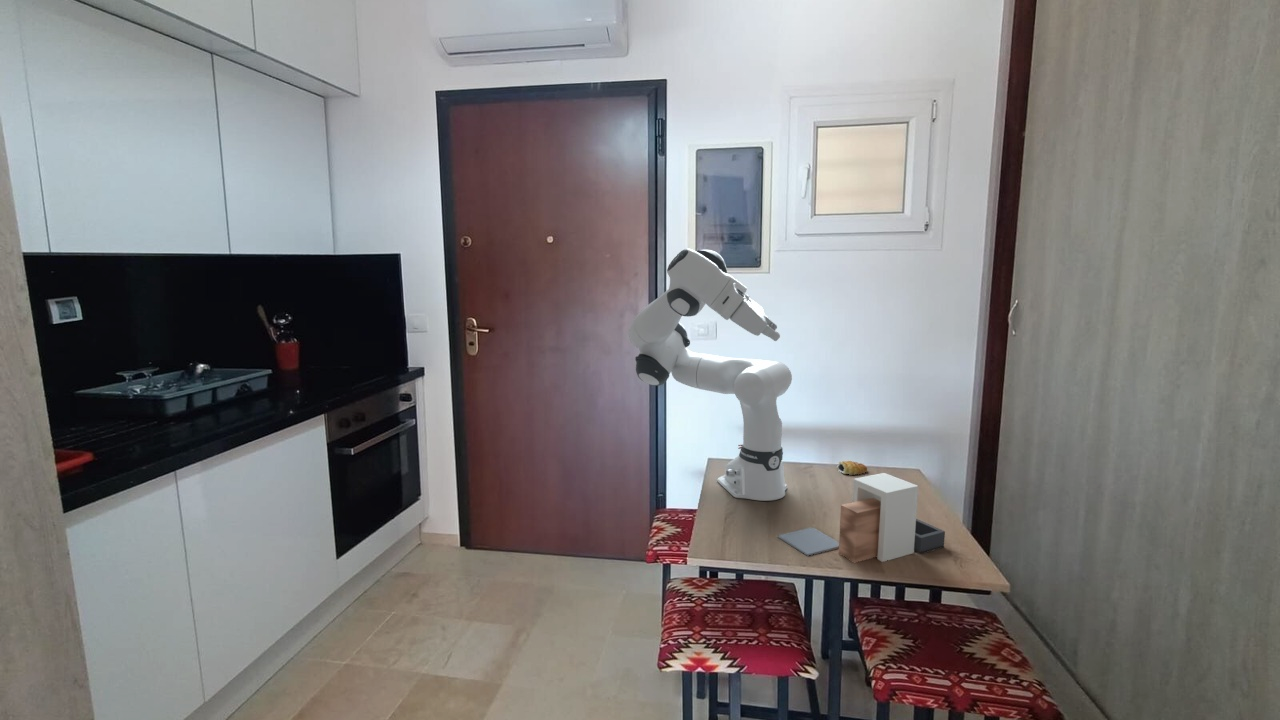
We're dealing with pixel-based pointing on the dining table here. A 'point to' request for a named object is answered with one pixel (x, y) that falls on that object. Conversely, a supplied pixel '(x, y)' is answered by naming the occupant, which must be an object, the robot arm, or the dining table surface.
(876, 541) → the block
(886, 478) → the white arch frame
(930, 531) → the bin
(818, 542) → the mat
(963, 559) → the dining table surface
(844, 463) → the pastry
